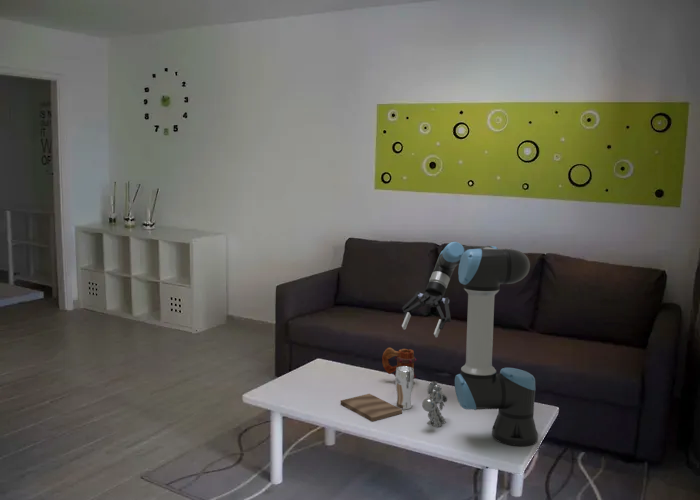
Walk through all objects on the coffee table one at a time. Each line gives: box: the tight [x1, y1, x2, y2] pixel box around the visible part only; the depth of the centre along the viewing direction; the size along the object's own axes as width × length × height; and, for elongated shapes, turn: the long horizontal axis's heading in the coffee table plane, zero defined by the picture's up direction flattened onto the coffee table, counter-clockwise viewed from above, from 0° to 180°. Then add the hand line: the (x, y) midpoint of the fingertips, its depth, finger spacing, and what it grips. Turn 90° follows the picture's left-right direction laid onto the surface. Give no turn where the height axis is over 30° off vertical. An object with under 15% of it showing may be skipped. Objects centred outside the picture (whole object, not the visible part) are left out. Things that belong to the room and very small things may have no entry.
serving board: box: [340, 393, 403, 422], centre depth 242 cm, size 20×14×2 cm
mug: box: [381, 347, 417, 379], centre depth 271 cm, size 15×8×15 cm, turn 84°
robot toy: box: [421, 380, 448, 428], centre depth 228 cm, size 15×6×15 cm, turn 148°
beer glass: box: [394, 366, 415, 410], centre depth 244 cm, size 7×7×15 cm
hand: (419, 332), depth 247 cm, fingers open, 13 cm apart
